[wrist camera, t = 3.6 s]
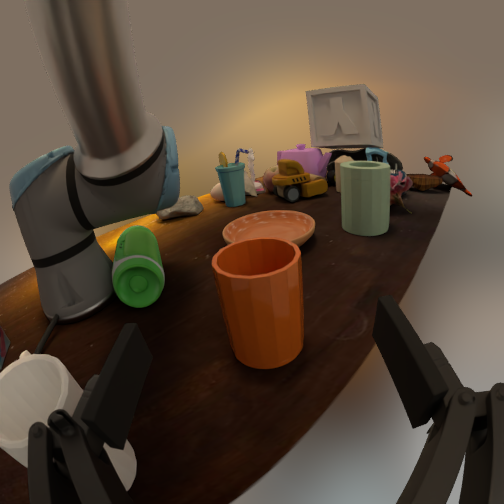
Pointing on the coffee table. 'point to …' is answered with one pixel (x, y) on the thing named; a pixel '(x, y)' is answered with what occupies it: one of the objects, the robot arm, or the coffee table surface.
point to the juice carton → (3, 346)
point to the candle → (337, 170)
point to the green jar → (365, 197)
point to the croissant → (424, 181)
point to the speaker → (137, 268)
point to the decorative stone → (182, 208)
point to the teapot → (307, 159)
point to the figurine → (250, 165)
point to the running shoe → (363, 158)
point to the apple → (270, 177)
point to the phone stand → (375, 151)
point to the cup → (232, 179)
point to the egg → (217, 192)
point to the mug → (45, 407)
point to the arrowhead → (249, 185)
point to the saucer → (271, 226)
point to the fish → (446, 173)
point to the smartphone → (261, 190)
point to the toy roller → (296, 181)
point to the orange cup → (261, 299)
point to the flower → (398, 188)
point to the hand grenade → (331, 176)
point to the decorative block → (344, 117)
